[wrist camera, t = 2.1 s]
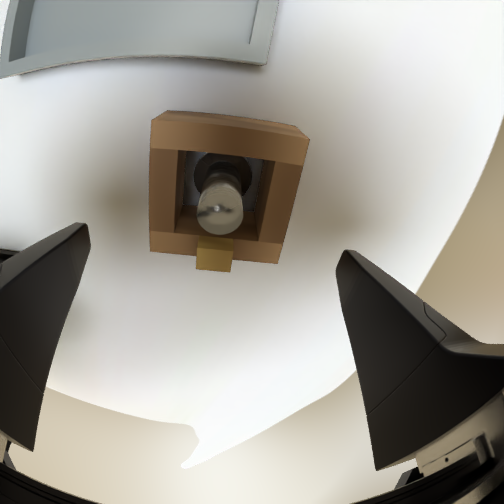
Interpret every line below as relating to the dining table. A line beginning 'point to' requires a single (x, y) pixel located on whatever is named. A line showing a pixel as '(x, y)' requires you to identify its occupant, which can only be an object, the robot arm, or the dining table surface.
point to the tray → (133, 31)
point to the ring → (231, 143)
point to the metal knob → (221, 191)
